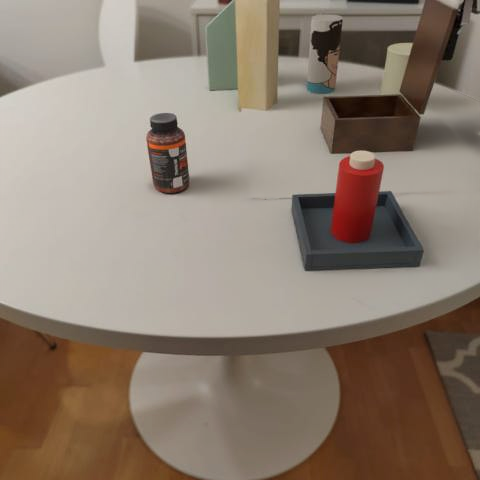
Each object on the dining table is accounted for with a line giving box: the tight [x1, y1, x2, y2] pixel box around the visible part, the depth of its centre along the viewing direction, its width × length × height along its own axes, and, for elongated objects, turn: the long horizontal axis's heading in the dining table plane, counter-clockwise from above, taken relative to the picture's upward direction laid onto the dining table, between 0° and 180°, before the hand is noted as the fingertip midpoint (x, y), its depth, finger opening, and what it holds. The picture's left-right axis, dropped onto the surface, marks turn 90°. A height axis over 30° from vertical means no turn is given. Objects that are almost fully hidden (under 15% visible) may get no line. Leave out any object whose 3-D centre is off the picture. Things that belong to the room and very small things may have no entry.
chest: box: [320, 94, 422, 155], centre depth 84 cm, size 15×12×7 cm
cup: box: [306, 13, 344, 95], centre depth 104 cm, size 7×7×15 cm
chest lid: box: [399, 0, 458, 115], centre depth 76 cm, size 15×12×1 cm
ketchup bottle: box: [331, 151, 385, 243], centre depth 59 cm, size 5×5×11 cm
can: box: [379, 42, 415, 110], centre depth 96 cm, size 9×9×12 cm
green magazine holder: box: [204, 0, 238, 91], centre depth 107 cm, size 16×8×20 cm, turn 96°
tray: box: [291, 190, 425, 271], centre depth 62 cm, size 15×15×3 cm
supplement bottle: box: [145, 112, 190, 194], centre depth 71 cm, size 6×6×11 cm
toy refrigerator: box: [235, 0, 281, 112], centre depth 95 cm, size 8×7×21 cm
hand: (440, 58), depth 77 cm, fingers closed
